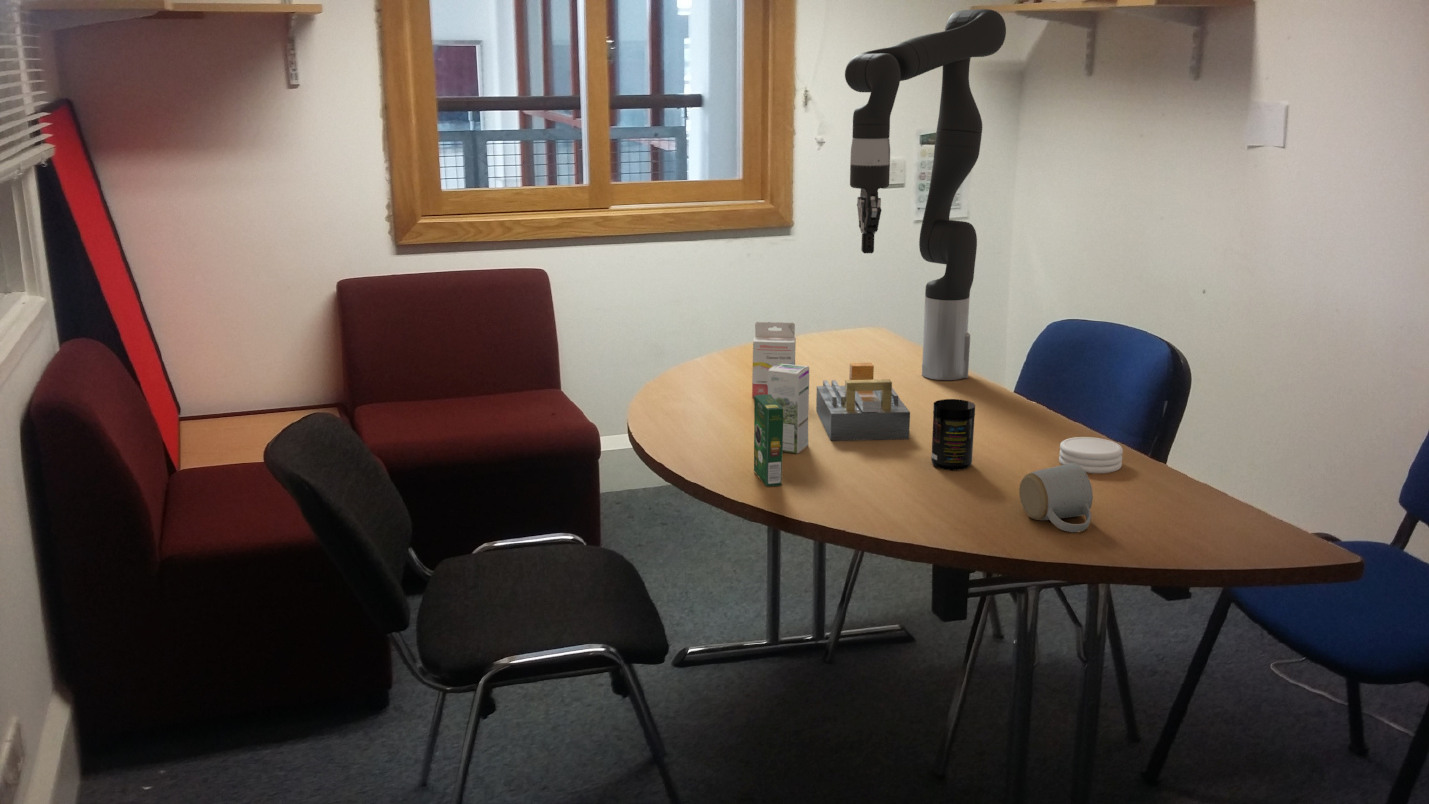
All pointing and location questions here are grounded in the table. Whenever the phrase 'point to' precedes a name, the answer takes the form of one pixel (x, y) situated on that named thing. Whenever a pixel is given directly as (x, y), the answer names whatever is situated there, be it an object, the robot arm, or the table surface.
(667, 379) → the table surface
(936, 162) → the robot arm
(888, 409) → the heatsink block
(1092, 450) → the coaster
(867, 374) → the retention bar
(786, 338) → the ink cartridge box
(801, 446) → the syrup box
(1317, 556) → the table surface
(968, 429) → the supplement container
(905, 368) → the table surface
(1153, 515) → the table surface
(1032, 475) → the ceramic mug
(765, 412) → the coffee box
